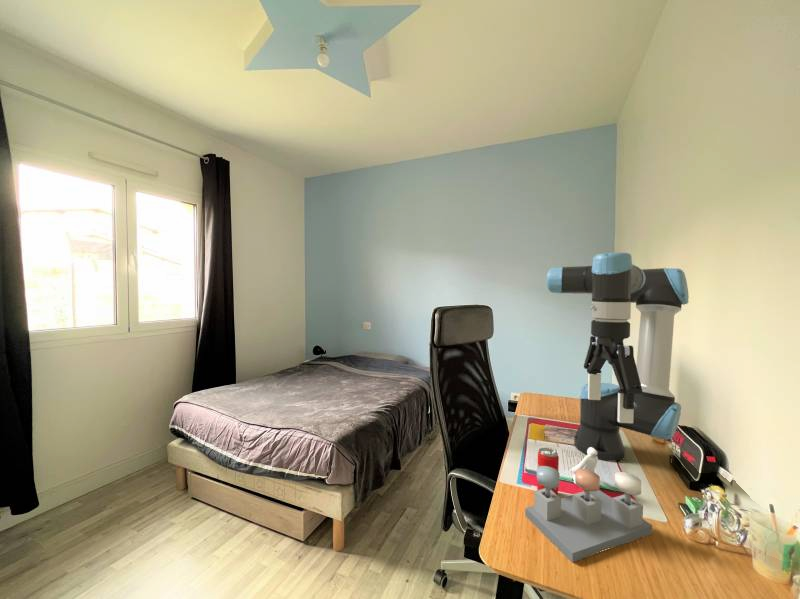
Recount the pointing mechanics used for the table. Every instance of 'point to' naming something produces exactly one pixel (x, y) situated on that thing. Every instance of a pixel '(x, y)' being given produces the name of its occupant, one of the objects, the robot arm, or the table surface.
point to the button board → (587, 522)
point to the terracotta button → (587, 482)
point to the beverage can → (548, 463)
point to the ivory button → (628, 485)
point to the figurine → (587, 462)
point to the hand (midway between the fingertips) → (608, 410)
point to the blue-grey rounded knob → (548, 478)
